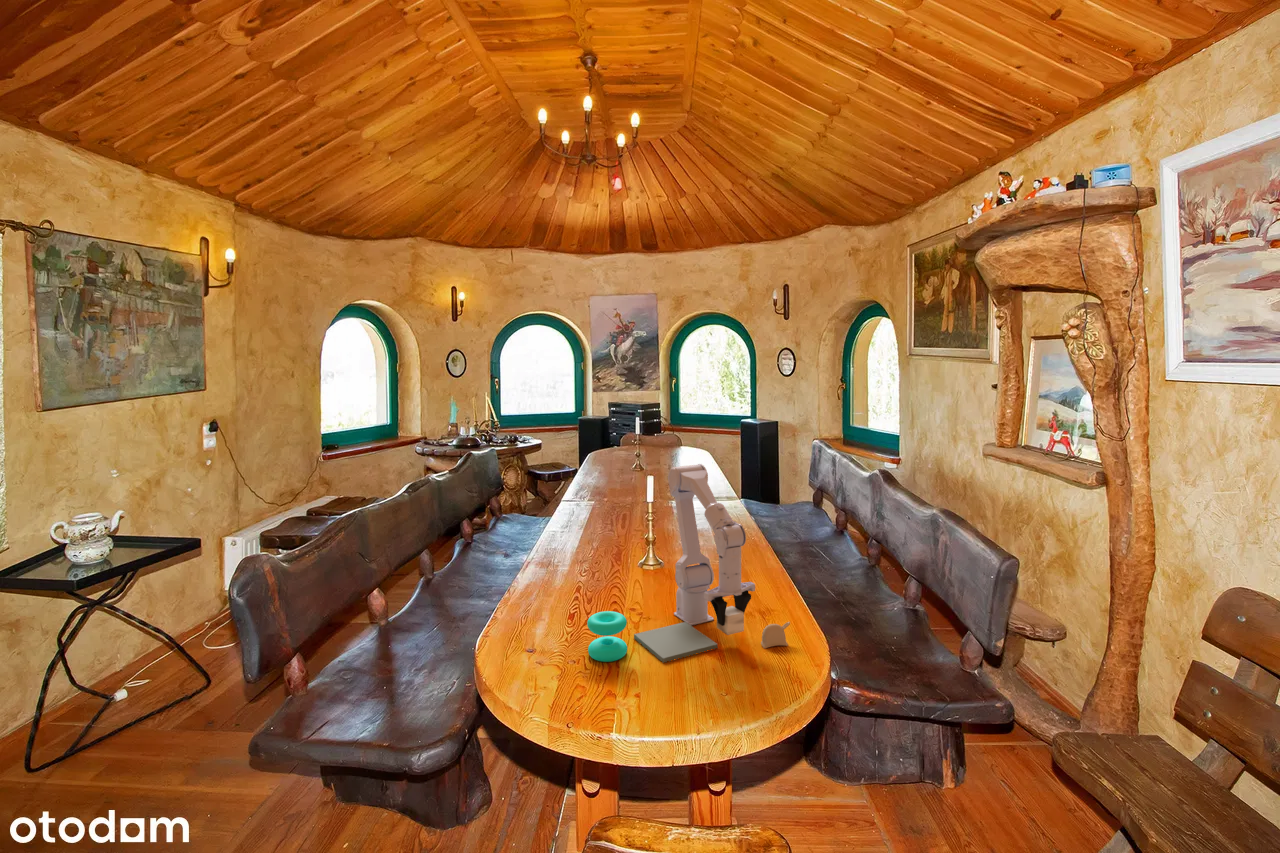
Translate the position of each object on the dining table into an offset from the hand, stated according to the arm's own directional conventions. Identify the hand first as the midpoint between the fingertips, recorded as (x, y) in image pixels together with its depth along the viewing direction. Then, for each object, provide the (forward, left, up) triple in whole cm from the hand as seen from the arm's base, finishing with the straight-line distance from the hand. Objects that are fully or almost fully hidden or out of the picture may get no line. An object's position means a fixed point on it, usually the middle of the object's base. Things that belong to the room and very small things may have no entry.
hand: (730, 621), depth 174 cm
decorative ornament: (+5, +11, -7) cm, 14 cm away
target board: (-8, -12, -6) cm, 16 cm away
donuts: (-11, -30, -6) cm, 33 cm away
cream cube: (0, 0, -2) cm, 2 cm away
